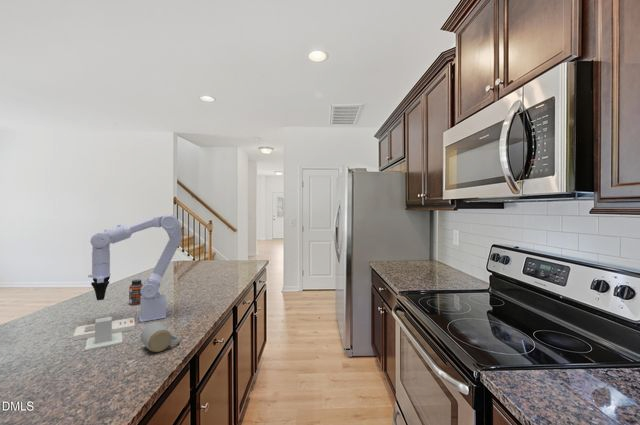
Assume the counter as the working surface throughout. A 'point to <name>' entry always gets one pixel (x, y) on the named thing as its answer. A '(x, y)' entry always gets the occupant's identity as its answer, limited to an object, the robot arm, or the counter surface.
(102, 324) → the block
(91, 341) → the pad
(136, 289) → the supplement bottle
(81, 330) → the power strip
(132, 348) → the counter surface
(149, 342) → the ceramic mug
